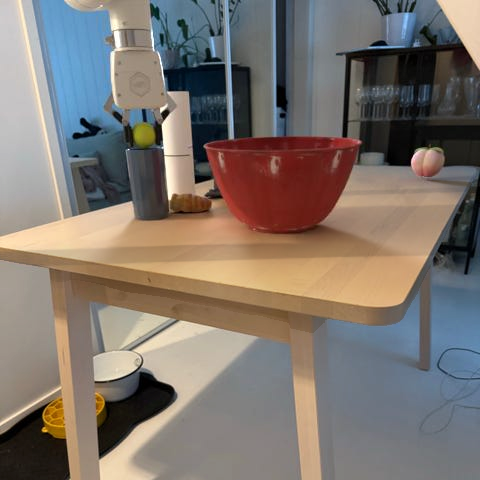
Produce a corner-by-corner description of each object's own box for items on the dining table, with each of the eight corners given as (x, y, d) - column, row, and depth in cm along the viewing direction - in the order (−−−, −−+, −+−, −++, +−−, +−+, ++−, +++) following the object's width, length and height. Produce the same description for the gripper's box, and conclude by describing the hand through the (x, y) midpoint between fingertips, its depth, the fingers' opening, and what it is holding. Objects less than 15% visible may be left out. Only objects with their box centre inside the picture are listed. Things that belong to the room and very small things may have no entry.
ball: (134, 149, 92) (131, 122, 90) (131, 148, 96) (128, 122, 94) (159, 148, 94) (156, 121, 91) (155, 146, 98) (152, 121, 96)
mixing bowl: (373, 241, 77) (383, 143, 71) (204, 247, 77) (198, 149, 71) (338, 208, 103) (342, 134, 96) (211, 212, 103) (207, 138, 96)
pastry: (213, 207, 109) (212, 190, 107) (210, 213, 102) (209, 195, 101) (174, 207, 109) (173, 191, 108) (168, 213, 103) (167, 196, 101)
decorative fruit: (446, 178, 138) (452, 143, 134) (436, 182, 133) (441, 145, 128) (416, 176, 144) (420, 142, 140) (405, 179, 138) (409, 144, 134)
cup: (137, 221, 96) (128, 151, 91) (132, 214, 103) (124, 148, 97) (172, 218, 99) (166, 148, 93) (166, 211, 105) (159, 146, 99)
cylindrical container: (200, 196, 122) (194, 91, 111) (186, 201, 116) (178, 91, 106) (177, 195, 125) (169, 92, 114) (163, 200, 119) (152, 92, 108)
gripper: (87, 40, 81) (103, 149, 89) (181, 41, 86) (189, 144, 94) (86, 46, 88) (101, 147, 96) (173, 46, 93) (181, 142, 100)
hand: (144, 145), depth 95 cm, fingers closed on ball, 4 cm apart
